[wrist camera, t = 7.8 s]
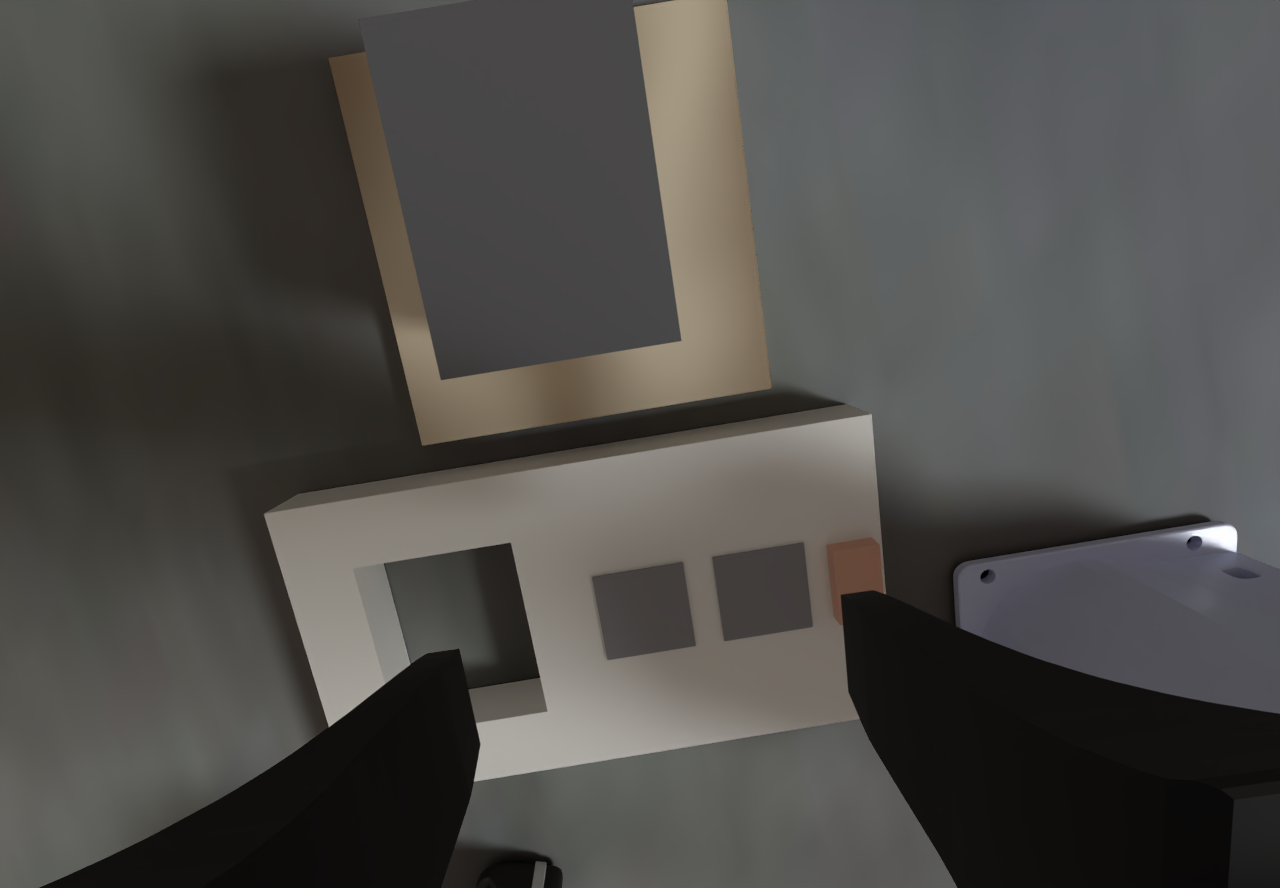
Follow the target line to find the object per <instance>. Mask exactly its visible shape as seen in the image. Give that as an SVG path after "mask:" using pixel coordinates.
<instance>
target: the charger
mask: <svg viewBox="0 0 1280 888" xmlns="http://www.w3.org/2000/svg"><path fill="white" fill-rule="evenodd" d="M358 21H359V26H360V30H361V34H362V39H363V43H364V48H365V52H366V56H367V61H368V65H369V69H370V74H371V78H372V82H373V87H374V91H375V95H376V100H377V104H378V109H379V113H380V117H381V122H382V126H383V130H384V135H385V139H386V143H387V148H388V152H389V157H390V161H391V165H392V170H393V174H394V178H395V183H396V187H397V191H398V196H399V200H400V204H401V209H402V213H403V218H404V222H405V226H406V231H407V235H408V239H409V244H410V248H411V252H412V257H413V261H414V266H415V270H416V274H417V279H418V283H419V287H420V292H421V296H422V300H423V305H424V309H425V314H426V318H427V322H428V327H429V331H430V335H431V340H432V344H433V348H434V353H435V357H436V361H437V366H438V370H439V375H440V379H441V380H446V379H452V378H458V377H465V376H471V375H477V374H483V373H489V372H495V371H501V370H507V369H513V368H520V367H526V366H532V365H538V364H544V363H550V362H556V361H562V360H569V359H575V358H581V357H587V356H593V355H599V354H605V353H611V352H617V351H624V350H630V349H636V348H642V347H648V346H654V345H660V344H666V343H672V342H679V341H681V334H680V327H679V320H678V313H677V306H676V299H675V292H674V285H673V278H672V271H671V264H670V257H669V250H668V243H667V236H666V229H665V222H664V215H663V208H662V201H661V194H660V188H659V181H658V174H657V167H656V160H655V153H654V146H653V139H652V132H651V125H650V118H649V111H648V104H647V97H646V90H645V83H644V76H643V69H642V62H641V55H640V48H639V41H638V34H637V27H636V21H635V14H634V7H633V0H473V1H467V2H461V3H455V4H449V5H443V6H437V7H431V8H425V9H419V10H413V11H407V12H401V13H395V14H389V15H383V16H376V17H370V18H364V19H358Z"/></svg>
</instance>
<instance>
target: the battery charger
mask: <svg viewBox="0 0 1280 888" xmlns="http://www.w3.org/2000/svg"><path fill="white" fill-rule="evenodd" d="M546 864H547V863H546V862H540V861H536V862H535V864H533V863H525V862H504V863H499V864H495V865H492V866H490V867H488V868H487V869H485V870H484V871H483V872H482V873H481V875H480V877H479V879H478V882H477V885H476V888H562V880H563V876H562V871H561V869H560V868H558V867H556V866H550V865H546Z"/></svg>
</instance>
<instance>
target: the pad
mask: <svg viewBox="0 0 1280 888" xmlns="http://www.w3.org/2000/svg"><path fill="white" fill-rule="evenodd" d="M634 14H635V21H636V27H637V34H638V41H639V48H640V55H641V62H642V69H643V76H644V83H645V90H646V97H647V104H648V111H649V118H650V125H651V132H652V139H653V146H654V153H655V160H656V167H657V174H658V181H659V188H660V194H661V201H662V208H663V215H664V222H665V229H666V236H667V243H668V250H669V257H670V264H671V271H672V278H673V285H674V292H675V299H676V306H677V313H678V320H679V327H680V334H681V341H679V342H672V343H666V344H660V345H654V346H648V347H642V348H636V349H630V350H624V351H617V352H611V353H605V354H599V355H593V356H587V357H581V358H575V359H569V360H562V361H556V362H550V363H544V364H538V365H532V366H526V367H520V368H513V369H507V370H501V371H495V372H489V373H483V374H477V375H471V376H465V377H458V378H452V379H446V380H441V379H440V375H439V370H438V366H437V361H436V357H435V353H434V348H433V344H432V340H431V335H430V331H429V327H428V322H427V318H426V314H425V309H424V305H423V300H422V296H421V292H420V287H419V283H418V279H417V274H416V270H415V266H414V261H413V257H412V252H411V248H410V244H409V239H408V235H407V231H406V226H405V222H404V218H403V213H402V209H401V204H400V200H399V196H398V191H397V187H396V183H395V178H394V174H393V170H392V165H391V161H390V157H389V152H388V148H387V143H386V139H385V135H384V130H383V126H382V122H381V117H380V113H379V109H378V104H377V100H376V95H375V91H374V87H373V82H372V78H371V74H370V69H369V65H368V61H367V56H366V52H361V53H355V54H349V55H343V56H337V57H331V58H328V59H329V63H330V67H331V71H332V75H333V79H334V83H335V88H336V92H337V96H338V100H339V104H340V108H341V112H342V116H343V121H344V125H345V129H346V133H347V137H348V141H349V145H350V150H351V154H352V158H353V162H354V166H355V170H356V174H357V178H358V183H359V187H360V191H361V195H362V199H363V203H364V207H365V211H366V216H367V220H368V224H369V228H370V232H371V236H372V240H373V245H374V249H375V253H376V257H377V261H378V265H379V269H380V273H381V278H382V282H383V286H384V290H385V294H386V298H387V302H388V306H389V311H390V315H391V319H392V323H393V327H394V331H395V335H396V340H397V344H398V348H399V352H400V356H401V360H402V364H403V368H404V373H405V377H406V381H407V385H408V389H409V393H410V397H411V401H412V406H413V410H414V414H415V418H416V422H417V426H418V430H419V434H420V439H421V443H422V446H424V445H430V444H436V443H442V442H448V441H454V440H460V439H466V438H473V437H479V436H485V435H491V434H497V433H503V432H509V431H515V430H521V429H527V428H534V427H540V426H546V425H552V424H558V423H564V422H570V421H576V420H582V419H588V418H595V417H601V416H607V415H613V414H619V413H625V412H631V411H637V410H643V409H649V408H655V407H662V406H668V405H674V404H680V403H686V402H692V401H698V400H704V399H710V398H716V397H723V396H729V395H735V394H741V393H747V392H753V391H759V390H765V389H771V380H770V371H769V362H768V354H767V345H766V336H765V328H764V319H763V310H762V302H761V293H760V285H759V276H758V267H757V259H756V250H755V241H754V233H753V224H752V215H751V207H750V198H749V189H748V181H747V172H746V163H745V155H744V146H743V137H742V129H741V120H740V111H739V103H738V94H737V85H736V77H735V68H734V59H733V51H732V42H731V33H730V25H729V16H728V8H727V0H674V1H668V2H662V3H656V4H650V5H644V6H638V7H634Z"/></svg>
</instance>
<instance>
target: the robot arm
mask: <svg viewBox="0 0 1280 888" xmlns="http://www.w3.org/2000/svg"><path fill="white" fill-rule="evenodd" d="M1190 537H1192V538H1191V541H1190V542H1189V543H1188V545H1186V544H1187V541H1188V540H1189V538H1190ZM1236 550H1237V531H1236V529H1235V528H1234V526H1232V525H1230V524H1227V523H1224V522H1222V521H1211V522H1205V523H1199V524H1193V525H1186V526H1180V527H1174V528H1168V529H1162V530H1156V531H1150V532H1143V533H1137V534H1131V535H1125V536H1119V537H1113V538H1107V539H1100V540H1094V541H1088V542H1082V543H1076V544H1070V545H1064V546H1057V547H1051V548H1045V549H1039V550H1033V551H1027V552H1021V553H1015V554H1008V555H1002V556H996V557H990V558H984V559H978V560H972V561H966V562H963V563H961V564H960V565H959V566H957V568H956V569H955V571H954V575H953V584H954V601H955V619H956V626H954V625H952V624H950V623H948V622H945V621H943V620H941V619H939V618H937V617H934V616H932V615H930V614H928V613H926V612H923V611H921V610H919V609H917V608H915V607H913V606H910V605H908V604H906V603H904V602H902V601H899V600H897V599H895V598H893V597H890V596H888V595H886V594H883V593H881V592H878V591H875V590H870V591H863V592H856V593H849V594H842V595H841V607H842V619H843V632H844V644H845V657H846V670H847V682H848V693H849V695H850V697H851V700H852V702H853V704H854V707H855V709H856V711H857V714H858V716H859V718H860V720H861V723H862V725H863V727H864V729H865V731H866V733H867V736H868V738H869V740H870V742H871V743H872V745H873V747H874V749H875V750H876V752H877V754H878V755H879V757H880V759H881V760H882V762H883V764H884V765H885V767H886V769H887V770H888V772H889V774H890V775H891V777H892V779H893V780H894V782H895V783H896V785H897V787H898V788H899V790H900V792H901V793H902V795H903V796H904V798H905V800H906V801H907V803H908V805H909V806H910V808H911V809H912V811H913V813H914V814H915V816H916V818H917V819H918V821H919V822H920V824H921V826H922V827H923V829H924V831H925V832H926V834H927V836H928V837H929V839H930V840H931V842H932V844H933V845H934V847H935V849H936V850H937V852H938V853H939V855H940V857H941V859H942V861H943V862H944V864H945V866H946V868H947V869H948V871H949V873H950V875H951V877H952V878H953V880H954V882H955V884H956V886H957V888H1280V569H1278V568H1275V567H1273V566H1270V565H1268V564H1265V563H1263V562H1260V561H1258V560H1255V559H1252V558H1250V557H1247V556H1245V555H1242V554H1240V553H1237V552H1236ZM987 569H989V573H988V575H987V576H986V577H985V578H983V579H980V576H981V574H982V572H983V571H985V570H987ZM480 745H481V744H480V739H479V735H478V730H477V726H476V721H475V717H474V712H473V708H472V704H471V699H470V695H469V690H468V686H467V681H466V677H465V672H464V668H463V663H462V659H461V655H460V650H459V649H455V650H448V651H441V652H434V653H427V654H426V655H424V656H422V657H421V658H419V659H418V660H416V661H415V662H413V663H412V664H411V665H409V666H408V667H406V668H405V669H404V670H402V671H401V672H400V673H399V674H397V675H396V676H395V677H393V678H392V679H391V680H390V681H388V682H387V683H386V684H385V685H383V686H382V687H381V688H379V689H378V690H377V691H376V692H374V693H373V694H372V695H370V696H369V697H368V698H367V699H365V700H364V701H363V702H362V703H360V704H359V705H358V706H356V707H355V708H354V709H353V710H351V711H350V712H349V713H347V714H346V715H345V716H343V717H342V718H341V719H339V720H338V721H337V722H335V723H334V724H332V725H331V726H330V727H328V728H327V729H326V730H324V731H323V732H321V733H320V734H319V735H317V736H316V737H315V738H313V739H312V740H310V741H309V742H308V743H306V744H305V745H304V746H302V747H301V748H299V749H298V750H297V751H295V752H294V753H292V754H291V755H289V756H288V757H286V758H285V759H284V760H282V761H280V762H279V763H277V764H276V765H274V766H273V767H271V768H270V769H268V770H267V771H265V772H264V773H262V774H260V775H259V776H257V777H255V778H254V779H252V780H251V781H249V782H247V783H246V784H244V785H242V786H241V787H239V788H238V789H236V790H234V791H233V792H231V793H229V794H228V795H226V796H224V797H222V798H221V799H219V800H217V801H215V802H213V803H212V804H210V805H208V806H206V807H204V808H202V809H200V810H199V811H197V812H195V813H193V814H191V815H189V816H188V817H186V818H184V819H182V820H180V821H178V822H177V823H175V824H173V825H171V826H169V827H167V828H165V829H164V830H162V831H160V832H158V833H156V834H154V835H152V836H150V837H148V838H146V839H144V840H142V841H140V842H138V843H136V844H134V845H132V846H130V847H128V848H126V849H124V850H122V851H120V852H118V853H116V854H113V855H111V856H109V857H107V858H105V859H103V860H101V861H98V862H96V863H94V864H92V865H90V866H87V867H85V868H83V869H81V870H79V871H76V872H74V873H72V874H70V875H68V876H65V877H63V878H61V879H59V880H56V881H54V882H52V883H49V884H47V885H45V886H42V887H40V888H441V885H442V882H443V879H444V876H445V873H446V870H447V867H448V864H449V861H450V858H451V855H452V853H453V850H454V847H455V844H456V841H457V838H458V834H459V831H460V828H461V825H462V822H463V819H464V816H465V813H466V810H467V807H468V804H469V800H470V797H471V792H472V788H473V783H474V778H475V773H476V767H477V762H478V756H479V750H480Z"/></svg>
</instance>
